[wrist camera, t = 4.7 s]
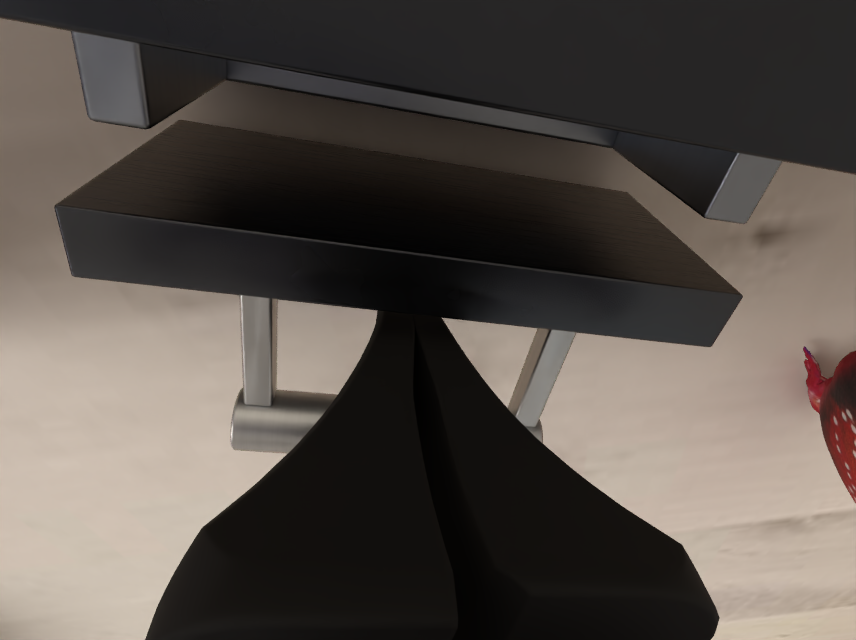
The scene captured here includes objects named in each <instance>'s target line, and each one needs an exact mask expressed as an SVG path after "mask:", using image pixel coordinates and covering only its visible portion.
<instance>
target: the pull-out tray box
mask: <svg viewBox="0 0 856 640" xmlns="http://www.w3.org/2000/svg"><path fill="white" fill-rule="evenodd" d="M71 33H72V38H73V43H74V49H75V54H76V59H77V64H78V69H79V74H80V79H81V84H82V89H83V94H84V100H85V105H86V110H87V115H88V117H89V119H91V120H93V121H96V122H102V123H109V124H115V125H121V126H128V127H134V128H140V129H149V128H152V127H153V126H155V125H156V124H158V123H159V122H161V121H163V120H164V119H166V118H167V117H169V116H170V115H172V114H174V113H175V112H177V111H178V110H180V109H181V108H183V107H185V106H186V105H188V104H189V103H191V102H192V101H194V100H196V99H197V98H199V97H200V96H202V95H203V94H205V93H207V92H208V91H210V90H211V89H213V88H214V87H216V86H218V85H219V84H221V83H222V82H224V81H225V80H228V81H234V82H240V83H245V84H251V85H257V86H262V87H268V88H274V89H279V90H285V91H290V92H296V93H302V94H307V95H313V96H319V97H324V98H330V99H336V100H341V101H347V102H353V103H358V104H364V105H370V106H375V107H381V108H387V109H392V110H398V111H404V112H409V113H415V114H421V115H426V116H432V117H438V118H443V119H449V120H455V121H460V122H466V123H472V124H477V125H483V126H489V127H494V128H500V129H506V130H511V131H517V132H523V133H528V134H534V135H540V136H545V137H551V138H557V139H562V140H568V141H574V142H579V143H585V144H591V145H596V146H602V147H607V148H613V149H614V150H615V151H616V152H618V153H619V154H620V155H622V156H623V157H624V158H626V159H627V160H628V161H630V162H631V163H632V164H634V165H635V166H636V167H638V168H639V169H640V170H642V171H643V172H644V173H646V174H647V175H648V176H650V177H651V178H652V179H654V180H655V181H656V182H658V183H659V184H660V185H661V186H663V187H664V188H665V189H667V190H668V191H669V192H671V193H672V194H673V195H675V196H676V197H677V198H679V199H680V200H681V201H683V202H684V203H685V204H687V205H688V206H689V207H691V208H692V209H693V210H695V211H696V212H697V213H699V214H700V215H701V216H703V217H704V218H707V219H714V220H720V221H726V222H733V223H739V224H746V223H747V221H748V220H749V218H750V216H751V215H752V213H753V211H754V209H755V208H756V206H757V204H758V203H759V201H760V199H761V197H762V196H763V194H764V192H765V190H766V189H767V187H768V185H769V184H770V182H771V180H772V178H773V177H774V175H775V173H776V172H777V170H778V168H779V166H780V165H781V163H782V161H779V160H773V159H768V158H762V157H757V156H751V155H746V154H740V153H735V152H729V151H724V150H718V149H713V148H708V147H702V146H697V145H691V144H686V143H680V142H675V141H669V140H664V139H658V138H653V137H647V136H642V135H637V134H631V133H626V132H620V131H615V130H609V129H604V128H598V127H593V126H587V125H582V124H576V123H571V122H566V121H560V120H555V119H549V118H544V117H538V116H533V115H527V114H522V113H516V112H511V111H505V110H500V109H495V108H489V107H484V106H478V105H473V104H467V103H462V102H456V101H451V100H445V99H440V98H434V97H429V96H423V95H418V94H413V93H407V92H402V91H396V90H391V89H385V88H380V87H374V86H369V85H363V84H358V83H352V82H347V81H342V80H336V79H331V78H325V77H320V76H314V75H309V74H303V73H298V72H292V71H287V70H281V69H276V68H271V67H265V66H260V65H254V64H249V63H243V62H238V61H232V60H227V59H221V58H216V57H210V56H205V55H200V54H194V53H189V52H183V51H178V50H172V49H167V48H161V47H156V46H150V45H145V44H139V43H134V42H128V41H123V40H118V39H112V38H107V37H101V36H96V35H90V34H85V33H79V32H74V31H71ZM55 212H56V216H57V220H58V224H59V227H60V231H61V235H62V239H63V243H64V247H65V251H66V255H67V258H68V262H69V266H70V270H71V274H72V276H74V277H81V278H90V279H99V280H108V281H117V282H126V283H135V284H144V285H153V286H162V287H171V288H180V289H189V290H198V291H207V292H216V293H225V294H234V295H240V317H241V342H242V367H243V388H242V389H241V390H240V392H239V394H238V396H237V399H236V402H235V406H234V410H233V415H232V422H231V446H232V448H233V449H234V450H240V451H256V452H272V453H289V452H290V451H291V450H292V449H293V448H294V447H295V446H296V445H297V444H298V443H299V442H300V440H301V439H302V438H303V437H304V436H305V435H306V434H307V433H308V431H309V430H310V429H311V428H312V427H313V426H314V424H315V423H316V422H317V421H318V420H319V419H320V417H321V416H322V415H323V414H324V412H325V411H326V410H327V409H328V407H329V406H330V405H331V403H332V402H333V401H334V399H335V398H336V397H337V395H336V394H324V393H312V392H299V391H287V390H276V389H277V310H278V299H279V300H288V301H297V302H306V303H315V304H324V305H333V306H342V307H351V308H360V309H369V310H378V311H387V312H396V313H405V314H414V315H424V316H433V317H442V318H451V319H460V320H469V321H478V322H487V323H496V324H505V325H514V326H523V327H532V328H537V331H536V334H535V336H534V339H533V342H532V344H531V347H530V350H529V352H528V355H527V358H526V360H525V363H524V366H523V368H522V371H521V374H520V376H519V379H518V382H517V384H516V387H515V390H514V392H513V395H512V398H511V400H510V403H509V406H508V410H509V411H510V412H511V413H512V414H513V415H514V416H515V417H516V418H517V419H518V420H519V421H520V422H521V423H522V424H523V425H524V426H525V427H526V428H527V429H528V430H529V431H530V432H531V433H532V434H533V435H534V436H535V437H536V438H537V439H538V440H539V441H541V442H542V443H543V432H542V425H541V421H540V419H539V418H540V416H541V413H542V411H543V409H544V407H545V404H546V402H547V400H548V397H549V395H550V393H551V390H552V388H553V386H554V383H555V381H556V379H557V376H558V374H559V372H560V369H561V367H562V365H563V363H564V360H565V358H566V356H567V353H568V351H569V349H570V346H571V344H572V342H573V339H574V337H575V335H576V332H577V333H586V334H595V335H604V336H613V337H622V338H631V339H640V340H649V341H658V342H667V343H676V344H685V345H694V346H703V347H711V346H712V345H713V343H714V342H715V340H716V339H717V337H718V335H719V334H720V332H721V331H722V329H723V328H724V326H725V324H726V323H727V321H728V320H729V318H730V317H731V315H732V313H733V312H734V310H735V309H736V307H737V305H738V304H739V302H740V301H741V299H742V297H743V295H742V294H741V293H740V292H738V291H737V290H736V289H735V288H734V287H733V286H732V285H731V284H729V283H728V282H727V281H726V280H725V279H724V278H723V277H722V276H720V275H719V274H718V273H717V272H716V271H715V270H714V269H713V268H711V267H710V266H709V265H708V264H707V263H706V262H705V261H704V260H702V259H701V258H700V257H699V256H698V255H697V254H696V253H695V252H693V251H692V250H691V249H690V248H689V247H688V246H687V245H686V244H684V243H683V242H682V241H681V240H680V239H679V238H678V237H677V236H675V235H674V234H673V233H672V232H671V231H670V230H669V229H668V228H666V227H665V226H664V225H663V224H662V223H661V222H660V221H659V220H658V219H656V218H655V217H654V216H653V215H652V214H651V213H650V212H649V211H647V210H646V209H645V208H644V207H643V206H642V205H641V204H640V203H638V202H637V201H636V200H635V199H634V198H633V197H632V196H631V195H629V194H628V193H627V192H622V191H616V190H610V189H604V188H598V187H591V186H585V185H579V184H573V183H567V182H561V181H554V180H548V179H542V178H536V177H530V176H524V175H517V174H511V173H505V172H499V171H493V170H487V169H480V168H474V167H468V166H462V165H456V164H449V163H443V162H437V161H431V160H425V159H419V158H412V157H406V156H400V155H394V154H388V153H382V152H375V151H369V150H363V149H357V148H351V147H345V146H338V145H332V144H326V143H320V142H314V141H308V140H301V139H295V138H289V137H283V136H277V135H271V134H264V133H258V132H252V131H246V130H240V129H234V128H227V127H221V126H215V125H209V124H203V123H197V122H190V121H184V120H178V121H177V122H175V123H174V124H173V125H171V126H170V127H168V128H167V129H165V130H164V131H162V132H161V133H159V134H158V135H156V136H155V137H154V138H152V139H151V140H149V141H148V142H146V143H145V144H143V145H142V146H140V147H139V148H137V149H136V150H135V151H133V152H132V153H130V154H129V155H127V156H126V157H124V158H123V159H121V160H120V161H118V162H117V163H116V164H114V165H113V166H111V167H110V168H108V169H107V170H105V171H104V172H102V173H101V174H99V175H98V176H97V177H95V178H94V179H92V180H91V181H89V182H88V183H86V184H85V185H83V186H82V187H80V188H79V189H78V190H76V191H75V192H73V193H72V194H70V195H69V196H67V197H66V198H64V199H63V200H62V201H60V202H59V203H57V204H56V205H55Z"/></svg>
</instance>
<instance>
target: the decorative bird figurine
mask: <svg viewBox="0 0 856 640" xmlns="http://www.w3.org/2000/svg"><path fill="white" fill-rule="evenodd" d="M803 351H804V353H805V356H806V358H807V359H808V360H806V359H805V361H804V363H805V367H806V369H807V372H808V378H807V380H806V384H807V386H808V395H809V399H810V403H811V405H812V407H813V408H814V410H816V411H817V412H818V413H819V414H820V420H821V426H822V431H823V435H824V438H825V441H826V445H827V447H828V450H829V452H830V454H831V457H832V459H833V462H834V464H835V466H836V468H837V471H838V473H839V475H840V477H841V479H842V481H843V483H844V484H845V486H846V488H847V490H848V491H849V493H850V495H851V496H852V498H853V500H854V501H855V503H856V351H854V352H850V353H849V354H848V355H847V356H845V357H844V358H843V359H842V360H841V361H840V362H839V364H838V366H837V367H836V369H835V372H834V375H833V377H830V378H828V379H827V378H825V377H824V376H821V370H820V368H819V364H818V363H817V362H816V360H815V359H814V357H813V356H812V355H811V353H810V351H808V350H807V349H806V347H804V348H803Z"/></svg>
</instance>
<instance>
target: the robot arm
mask: <svg viewBox="0 0 856 640" xmlns="http://www.w3.org/2000/svg"><path fill="white" fill-rule="evenodd" d="M718 621H719V615H718V613H717V610H716V607H715V605H714V603H713V601H712V599H711V597H710V595H709V593H708V591H707V590H706V588H705V586H704V584H703V582H702V580H701V578H700V576H699V574H698V572H697V570H696V568H695V567H694V565H693V563H692V561H691V559H690V558H689V556H688V554H687V553H686V551H685V549H684V548H683V546H682V544H680V543H678V542H677V541H675V540H674V539H672V538H671V537H669V536H668V535H666V534H664V533H663V532H661V531H660V530H658V529H657V528H655V527H653V526H652V525H650V524H649V523H647V522H646V521H644V520H642V519H641V518H639V517H638V516H636V515H635V514H633V513H632V512H630V511H628V510H627V509H625V508H624V507H622V506H621V505H620V504H618V503H617V502H615V501H614V500H613V499H611V498H610V497H609V496H607V495H606V494H604V493H603V492H602V491H600V490H599V489H598V488H596V487H595V486H593V485H592V484H591V483H589V482H588V481H587V480H586V479H584V478H583V477H582V476H581V475H579V474H578V473H577V472H575V471H574V470H573V469H572V468H570V467H569V466H568V465H567V464H566V463H565V462H563V461H562V460H561V459H560V458H559V457H558V456H556V455H555V454H554V453H553V452H552V451H551V450H549V449H548V448H547V447H546V446H545V445H544V444H543V443H542V442H541V441H539V440H538V439H537V438H536V437H535V436H534V435H533V434H532V433H531V432H530V431H529V430H528V429H527V428H526V427H525V426H524V425H523V424H522V423H521V422H520V421H519V420H518V419H517V418H516V417H515V416H514V415H513V414H512V413H511V412H510V411H509V410H508V408H507V407H506V406H505V405H504V404H503V403H502V402H501V401H500V399H499V398H498V397H497V396H496V395H495V393H494V392H493V391H492V390H491V389H490V387H489V386H488V385H487V384H486V382H485V381H484V380H483V378H482V377H481V376H480V374H479V373H478V372H477V370H476V369H475V367H474V366H473V365H472V363H471V362H470V361H469V359H468V358H467V356H466V355H465V353H464V352H463V351H462V349H461V347H460V346H459V344H458V343H457V341H456V340H455V338H454V337H453V335H452V334H451V332H450V330H449V329H448V327H447V326H446V324H445V322H444V321H443V319H442V318H441V317H433V316H424V315H414V314H405V313H396V312H387V311H378V312H377V319H376V325H375V328H374V331H373V333H372V336H371V338H370V340H369V343H368V345H367V347H366V349H365V351H364V353H363V355H362V357H361V359H360V360H359V362H358V364H357V366H356V367H355V369H354V371H353V372H352V374H351V375H350V377H349V379H348V380H347V382H346V383H345V385H344V387H343V388H342V389H341V391H340V392H339V394H338V395H337V397H336V398H335V399H334V401H333V402H332V403H331V405H330V406H329V407H328V409H327V410H326V411H325V412H324V414H323V415H322V416H321V417H320V419H319V420H318V421H317V422H316V423H315V424H314V426H313V427H312V428H311V429H310V430H309V431H308V433H307V434H306V435H305V436H304V437H303V438H302V439H301V440H300V442H299V443H298V444H297V445H296V446H295V447H294V448H293V449H292V450H291V451H290V452H289V453H288V454H287V455H286V456H285V457H284V458H283V459H282V460H281V461H280V462H279V463H277V464H276V465H275V466H274V467H273V468H272V469H271V470H270V471H269V472H268V473H267V474H266V475H265V476H264V477H263V478H262V479H261V480H260V481H259V482H257V483H256V484H255V485H254V486H253V487H252V488H251V489H249V490H248V491H247V492H246V493H245V494H243V495H242V496H241V497H240V498H238V499H237V500H236V501H235V502H233V503H232V504H231V505H230V506H229V507H227V508H226V509H225V510H224V511H222V512H221V513H220V514H219V515H217V516H216V517H215V518H214V519H212V520H211V521H210V522H209V523H207V524H206V525H205V526H204V527H203V528H202V529H201V530H200V532H199V533H198V535H197V536H196V538H195V539H194V541H193V543H192V544H191V546H190V547H189V549H188V551H187V552H186V554H185V555H184V557H183V559H182V560H181V562H180V564H179V566H178V567H177V569H176V571H175V572H174V574H173V576H172V578H171V580H170V582H169V584H168V586H167V588H166V590H165V592H164V594H163V596H162V598H161V600H160V602H159V604H158V607H157V609H156V612H155V614H154V617H153V620H152V623H151V625H150V628H149V631H148V633H147V636H146V639H145V640H711V639H712V637H713V636H714V634H715V631H716V628H717V625H718Z"/></svg>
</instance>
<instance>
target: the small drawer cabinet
mask: <svg viewBox="0 0 856 640" xmlns="http://www.w3.org/2000/svg"><path fill="white" fill-rule="evenodd" d="M0 18H3V19H8V20H14V21H19V22H25V23H30V24H36V25H41V26H47V27H52V28H57V29H63V30H68V31H74V32H79V33H85V34H90V35H96V36H101V37H107V38H112V39H118V40H123V41H128V42H134V43H139V44H145V45H150V46H156V47H161V48H167V49H172V50H178V51H183V52H189V53H194V54H200V55H205V56H210V57H216V58H221V59H227V60H232V61H238V62H243V63H249V64H254V65H260V66H265V67H271V68H276V69H281V70H287V71H292V72H298V73H303V74H309V75H314V76H320V77H325V78H331V79H336V80H342V81H347V82H352V83H358V84H363V85H369V86H374V87H380V88H385V89H391V90H396V91H402V92H407V93H413V94H418V95H423V96H429V97H434V98H440V99H445V100H451V101H456V102H462V103H467V104H473V105H478V106H484V107H489V108H495V109H500V110H505V111H511V112H516V113H522V114H527V115H533V116H538V117H544V118H549V119H555V120H560V121H566V122H571V123H576V124H582V125H587V126H593V127H598V128H604V129H609V130H615V131H620V132H626V133H631V134H637V135H642V136H647V137H653V138H658V139H664V140H669V141H675V142H680V143H686V144H691V145H697V146H702V147H708V148H713V149H718V150H724V151H729V152H735V153H740V154H746V155H751V156H757V157H762V158H768V159H773V160H779V161H784V162H789V163H795V164H800V165H806V166H811V167H817V168H822V169H828V170H833V171H839V172H844V173H850V174H855V175H856V0H0Z"/></svg>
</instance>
